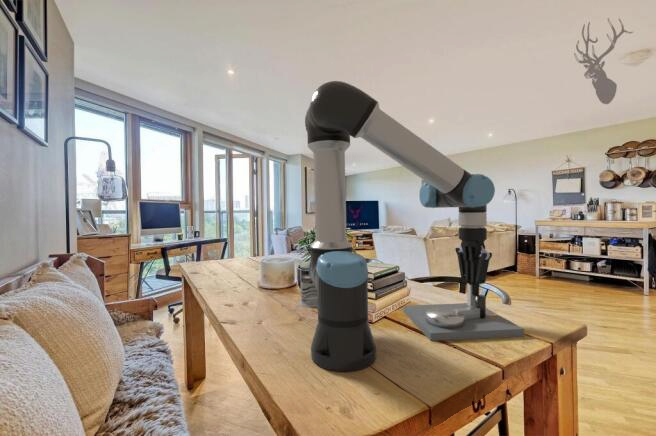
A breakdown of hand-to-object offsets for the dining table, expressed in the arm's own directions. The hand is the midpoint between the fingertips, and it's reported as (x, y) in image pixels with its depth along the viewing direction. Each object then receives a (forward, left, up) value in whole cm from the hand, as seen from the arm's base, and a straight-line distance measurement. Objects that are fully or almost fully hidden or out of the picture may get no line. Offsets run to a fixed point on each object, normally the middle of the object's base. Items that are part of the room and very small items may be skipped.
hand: (472, 305), depth 91 cm
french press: (-47, +22, -5) cm, 52 cm away
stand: (-6, -2, -5) cm, 7 cm away
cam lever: (-7, -5, -2) cm, 9 cm away
